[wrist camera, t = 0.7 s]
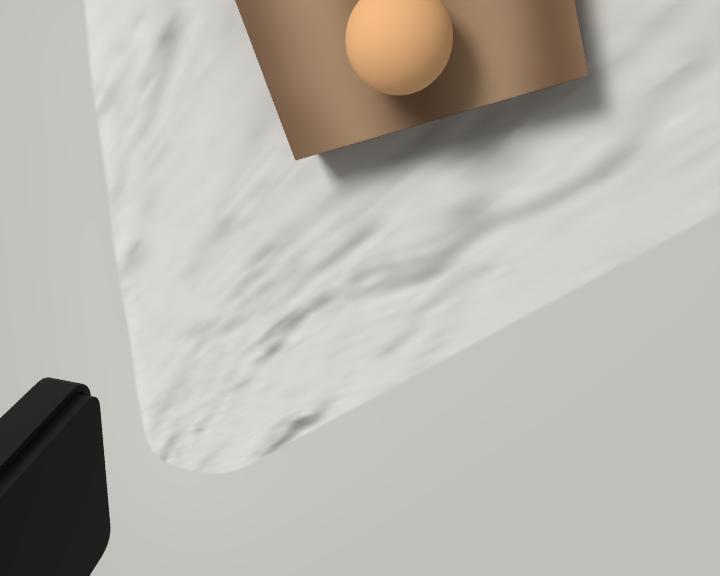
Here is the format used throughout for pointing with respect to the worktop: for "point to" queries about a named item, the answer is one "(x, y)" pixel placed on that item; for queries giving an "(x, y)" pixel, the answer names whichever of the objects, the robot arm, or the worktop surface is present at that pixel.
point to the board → (396, 112)
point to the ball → (399, 43)
